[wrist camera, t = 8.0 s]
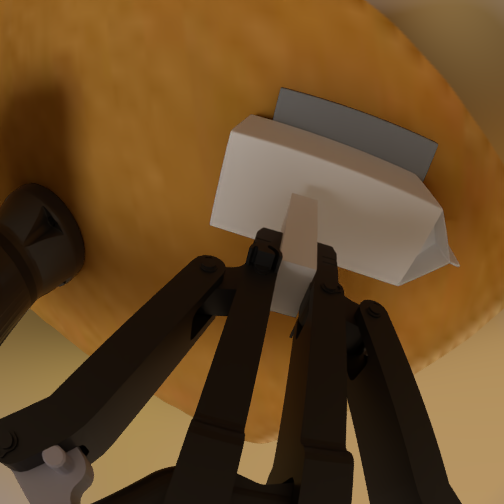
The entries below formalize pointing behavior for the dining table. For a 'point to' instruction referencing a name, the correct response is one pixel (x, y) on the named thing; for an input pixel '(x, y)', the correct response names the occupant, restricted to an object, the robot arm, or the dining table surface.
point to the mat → (356, 130)
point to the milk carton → (332, 200)
